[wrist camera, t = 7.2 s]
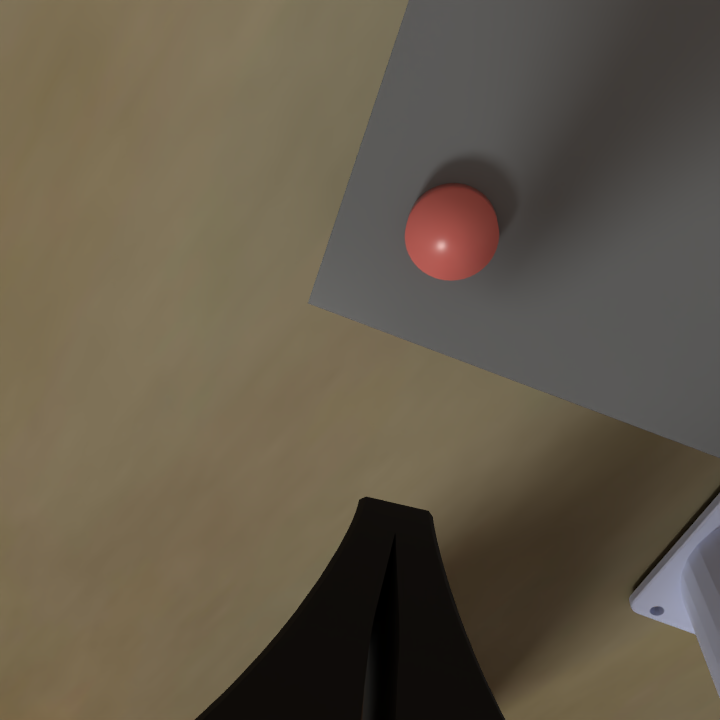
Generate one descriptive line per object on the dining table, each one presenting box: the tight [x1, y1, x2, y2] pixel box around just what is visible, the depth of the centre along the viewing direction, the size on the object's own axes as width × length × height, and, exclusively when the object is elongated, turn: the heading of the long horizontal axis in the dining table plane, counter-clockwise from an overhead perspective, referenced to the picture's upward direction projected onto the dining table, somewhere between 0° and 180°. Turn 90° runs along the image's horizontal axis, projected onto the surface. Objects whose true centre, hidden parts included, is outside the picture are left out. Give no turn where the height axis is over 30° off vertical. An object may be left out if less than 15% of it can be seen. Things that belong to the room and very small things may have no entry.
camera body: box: [308, 0, 720, 458], centre depth 15 cm, size 13×9×5 cm
